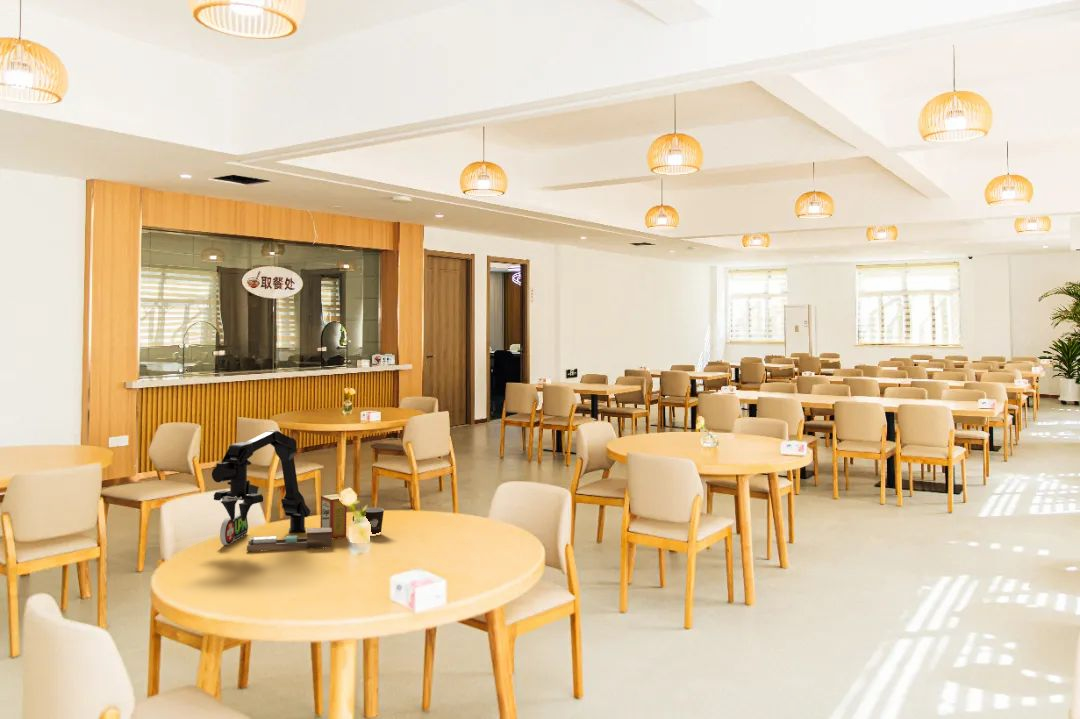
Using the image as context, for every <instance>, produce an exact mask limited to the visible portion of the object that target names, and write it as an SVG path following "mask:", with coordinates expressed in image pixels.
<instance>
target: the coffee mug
mask: <svg viewBox="0 0 1080 719" xmlns="http://www.w3.org/2000/svg"><path fill="white" fill-rule="evenodd" d="M365 509H366V515H365V516H366V518H367V519H368V521H369V522H370V524H371V532H372V534H376V533H379V532H381V533H382V528H383V527H382V526H383V520H384V512H385V509H384V508H382V507H367V508H365ZM352 521H353V522H354V521H355V517H354V515H353V516H352Z"/></svg>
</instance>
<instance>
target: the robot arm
mask: <svg viewBox="0 0 1080 719" xmlns="http://www.w3.org/2000/svg"><path fill="white" fill-rule="evenodd" d="M297 444H298V443H297V441H296V439H295V438H293V437H290V436H288V435H287V434H283V433H282V432H281V431H279V430H272V429H268V430H266V431H265V432H263V433H262V434H260V435H257V436H255V437H253V438H250V439H249V440H246V441H241V442H235V443H231V444H230V445H229V446H228V449H227V451H226V452H225V454H224V456H223V457H222V460H221V462H216V466H215V467H214V468H213V469H212V471H211V477H212V480H213V481H214V482H215V483H221V482H222V483H224V482H227V485H229V486H230V487H229V488H230V489H229V490H228V489H227V490H225V489H224V490H220V491H219V490H218V491H216V492H214V494H213V500H214V501H220V504H222V505H223V507H224V508H225V510H226V512H227V514H228V515H229V516H228V517H229V518H231V520H234V518H235V515H236V504H237V503H238V501H242V502H241V503H238V508H239V513H240V514H241V519H242V521H245V519H246V516H247V517H248V515H249V514H248V513H249V511H250V508H251V506H253V505H256V504H260V503H263V502H264V496H263V494H261V493H258V492H259V488H260V487H259V486H257V485H254V484H251V482H250V480H248V466H250V465H252V462H251V461H250V460H248V459H250V458H251V457H253V455H254V453H255V452H256V451H258V450H260V449H262V448H264V447H267V446H268V445H270V446H272V447H273V448H274V451H275V455H276V456H277V457H278V458H279V460H280V462H281V463H280V464H281V468H282V469H281V470H282V475H283V476H282V477H283V481H284V482H283V483H284V488H285V494H284V497H283V498H281V500H280V501H281V504H282V505H281V508H282V509H283V511H284V514H285V516H286V517H289V528H288V533H289V534H291V533H292V534H293V533H305V532H306V533H307V527H305V526H306V520H305V518H308V517H309V516H310V514H311V510H310V508H309V507H308V506H307V505H306V501H305V498H304V496H303V495H302V493H301V492H300V490H299V485H298V484H299V483H298V478H297V470H296V464H295V456H296V454H297V451H298V450H297V448H298V447H297ZM221 500H222V501H221Z"/></svg>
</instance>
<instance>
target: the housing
mask: <svg viewBox="0 0 1080 719" xmlns="http://www.w3.org/2000/svg"><path fill="white" fill-rule="evenodd" d="M332 540H333V539H332V528H331V527H326V528H321V527H310V528H309V527H308V528H307V527H306V537H298V542H292V543H286V538H280V539H279V538H277V541H276V543H273V544H254V545H250V540H248V544H247V545H246V552H247V551H259V552H265V551H264V550H277V551H293V550H292V549H296V550H310V548H314V549H326V548H325V547H332ZM323 547H324V548H323ZM290 549H291V550H290ZM261 550H263V551H261Z"/></svg>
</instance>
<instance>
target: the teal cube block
mask: <svg viewBox="0 0 1080 719" xmlns="http://www.w3.org/2000/svg"><path fill="white" fill-rule="evenodd" d="M298 538H299V536H298V535H286V537H285V539H286V543H292V542H298Z"/></svg>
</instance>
